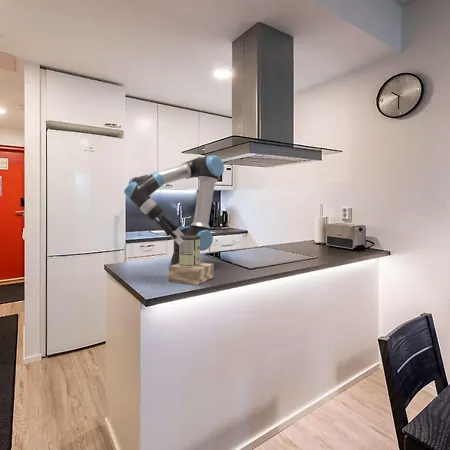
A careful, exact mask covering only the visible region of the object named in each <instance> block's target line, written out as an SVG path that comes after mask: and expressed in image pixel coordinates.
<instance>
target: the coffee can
mask: <svg viewBox="0 0 450 450" xmlns="http://www.w3.org/2000/svg"><path fill="white" fill-rule="evenodd" d="M179 237H180V238H181V239H182V240H183V242H182V243H181V244H180V245H179V266H182V267H197V266H200V262H201V250H200V236H196V235H184V236H179Z"/></svg>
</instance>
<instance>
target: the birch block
mask: <svg viewBox="0 0 450 450" xmlns="http://www.w3.org/2000/svg"><path fill="white" fill-rule="evenodd" d="M214 269H215V264H214V263H210V262H202V261H200V266H197V267H182V266H179V263H178V264H175V265H169V266H168V282H173V283H179V284H187V285H193V286H199V284H200V285H201V283H202V284H203V282H204V283H206V282H207V280H208V281H209V279H210V280H211V278H212V279H213V277H215V276H214V275H215V274H214V272H215V271H214ZM205 281H206V282H205Z"/></svg>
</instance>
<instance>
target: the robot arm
mask: <svg viewBox="0 0 450 450" xmlns="http://www.w3.org/2000/svg"><path fill="white" fill-rule="evenodd" d="M223 162H224V161H223V160H222V159H221V158H220V157H219V156H217V155H208V156H201V157H200V156H199V157H195V158H193V159H191V160H188V161H185V162H182V163H181V165H178V166H174V167H170V168H166V169H163V170H160V171H159V170H158V171H154V172H151V173H148V174H144V175H141V176H135V177H132V178H130V180H129V181H128V185H127V186H126V187H125V188H124V191H123V193H124V194H125V196H126V197H127V198H128V199H129V200H130V201H131V202H132V203H133V204H134V205H135V206H136V207H137V208H138V209H139V210H140V212H141V213H144V215H146V217H147V218H148V219H149V220H150V221H155V222H156V223H157V224H158V225H159V226H160V228H161V229H162V230H163V231H164V232H165V235H166V236H167V237H170V238H171V239H172V240H173V252H172V255H171V260H170V266H172V265H175V264H178V263H179V245H180V244H181V243H182V242H183V240H182V239H181V238H180V237H179V236H184V235H196V236H200V252H202V251H203V252H204V251H206V250H208V249H209V248H210V247H211V246H212V244H213V240H214V236H213V233H212V232H211V227H210V225H209V223H210V215H211V211H212V205H213V204H212V203H213V197H214V191H215V185H216V184H217V182H218V181H219V177H220V176H222V175H223V174H224V172H225V164H224V163H223ZM194 178H198V180H199V185H198V192H197V198H196V203H195V210H194V217H193V221H192V223H191V224H190V225H187V226H185V225H184V226H178V225H175V224H174V223H173V222H172V221H171V220H170V219H169V218H167V216H165V215H164V214H162V212H164V210H163V208H162V207H161V206H160V205H159V204H157V202H156V201H155V200H154V199H153V198H152V197H151V195H152V194H154V192H156V191H157V190H159V189H160V188H161V187H162V186H163V185H167V184H169V183H173V182H176V181H179V180H182V179H183V180H184V179H186V180H187V179H194Z"/></svg>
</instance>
